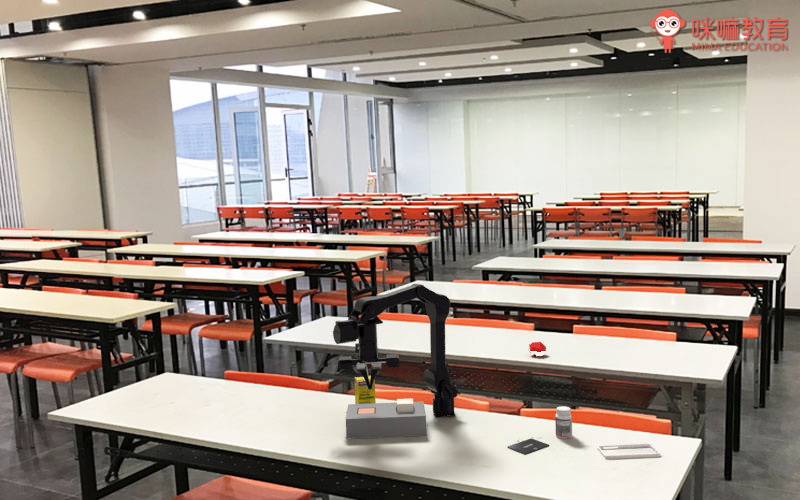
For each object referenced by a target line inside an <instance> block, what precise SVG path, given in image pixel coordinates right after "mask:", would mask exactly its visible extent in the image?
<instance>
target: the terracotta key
mask: <svg viewBox="0 0 800 500" xmlns="http://www.w3.org/2000/svg"><path fill="white" fill-rule="evenodd" d="M371 413H375V408H361V409H359V410H358V414H371Z"/></svg>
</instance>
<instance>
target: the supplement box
mask: <svg viewBox="0 0 800 500" xmlns="http://www.w3.org/2000/svg"><path fill="white" fill-rule="evenodd" d="M370 378H371V375H369V381H370ZM354 399H355V400H354V401H355V403H354V404H370V403H376V381H375V379H374V382H373V385H372V389H371V390H369V389H368V386H367V384H366V382H365V379H364V377H363V376H354Z"/></svg>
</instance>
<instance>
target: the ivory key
mask: <svg viewBox="0 0 800 500" xmlns="http://www.w3.org/2000/svg"><path fill="white" fill-rule="evenodd" d="M396 402H397V412H414V405H413V402H414V398H397V399H396Z"/></svg>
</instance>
